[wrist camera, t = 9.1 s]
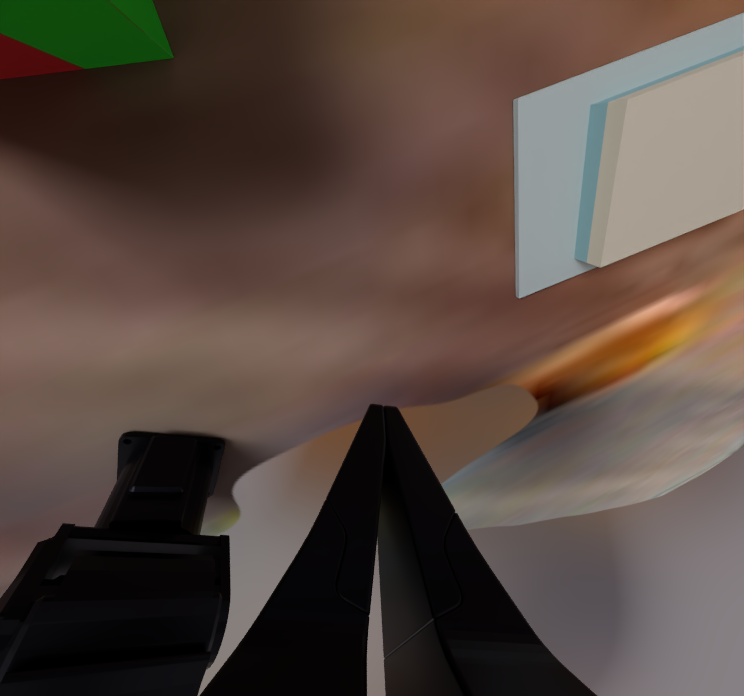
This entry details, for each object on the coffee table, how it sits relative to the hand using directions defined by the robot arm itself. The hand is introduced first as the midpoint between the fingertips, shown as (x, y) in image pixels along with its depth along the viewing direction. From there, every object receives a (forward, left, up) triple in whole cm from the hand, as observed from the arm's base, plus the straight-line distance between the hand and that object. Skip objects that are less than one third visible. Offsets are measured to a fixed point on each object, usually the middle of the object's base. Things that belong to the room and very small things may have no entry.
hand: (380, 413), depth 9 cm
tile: (+11, -13, -10) cm, 20 cm away
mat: (+13, -16, -12) cm, 24 cm away
